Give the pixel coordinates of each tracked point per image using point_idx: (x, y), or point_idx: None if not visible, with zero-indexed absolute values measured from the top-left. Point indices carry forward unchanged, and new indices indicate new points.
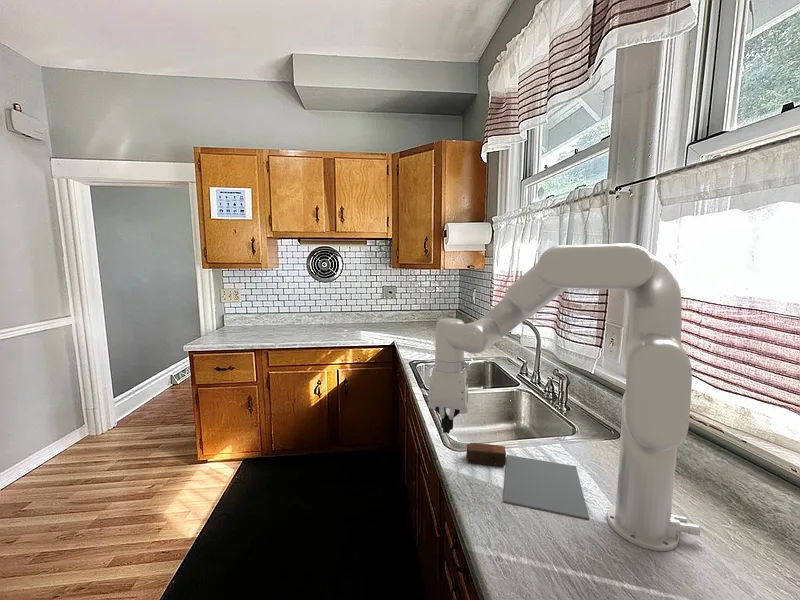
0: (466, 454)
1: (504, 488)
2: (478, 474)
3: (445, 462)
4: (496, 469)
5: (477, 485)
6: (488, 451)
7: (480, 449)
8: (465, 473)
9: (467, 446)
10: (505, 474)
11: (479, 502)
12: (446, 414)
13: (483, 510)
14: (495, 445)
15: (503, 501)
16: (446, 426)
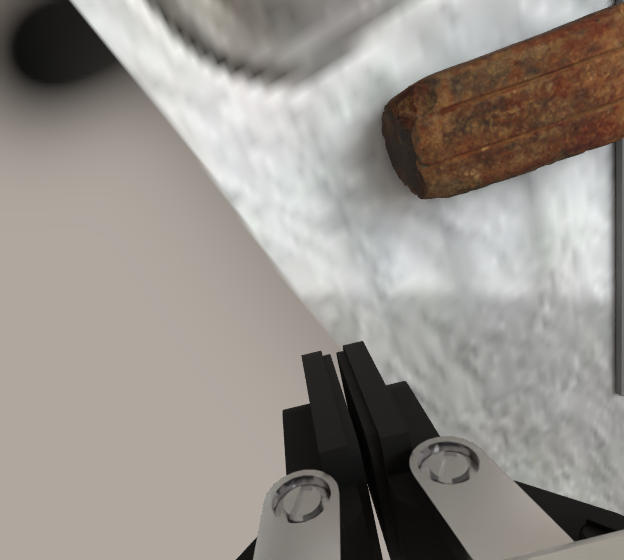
0: (409, 186)
1: (622, 318)
2: (484, 260)
3: (287, 247)
4: (565, 163)
5: (497, 345)
6: (574, 148)
7: (518, 151)
8: (421, 287)
9: (420, 157)
10: (621, 202)
11: (526, 439)
12: (368, 544)
13: (548, 469)
14: (615, 24)
15: (618, 393)
16: (371, 495)
